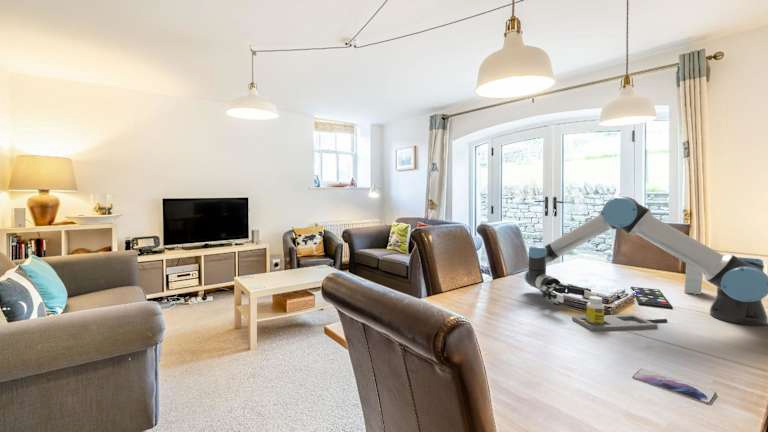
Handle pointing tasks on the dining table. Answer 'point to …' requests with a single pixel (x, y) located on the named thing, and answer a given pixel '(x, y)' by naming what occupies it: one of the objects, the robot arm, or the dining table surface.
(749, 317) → the robot arm
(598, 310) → the supplement bottle
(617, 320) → the socket strip
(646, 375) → the smartphone
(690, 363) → the dining table surface
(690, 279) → the skincare box
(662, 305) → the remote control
